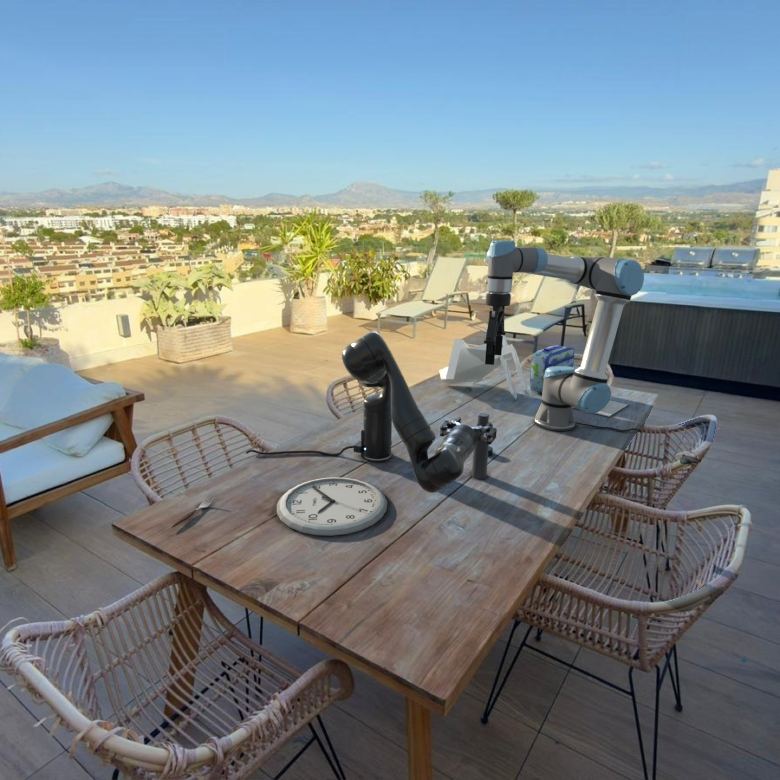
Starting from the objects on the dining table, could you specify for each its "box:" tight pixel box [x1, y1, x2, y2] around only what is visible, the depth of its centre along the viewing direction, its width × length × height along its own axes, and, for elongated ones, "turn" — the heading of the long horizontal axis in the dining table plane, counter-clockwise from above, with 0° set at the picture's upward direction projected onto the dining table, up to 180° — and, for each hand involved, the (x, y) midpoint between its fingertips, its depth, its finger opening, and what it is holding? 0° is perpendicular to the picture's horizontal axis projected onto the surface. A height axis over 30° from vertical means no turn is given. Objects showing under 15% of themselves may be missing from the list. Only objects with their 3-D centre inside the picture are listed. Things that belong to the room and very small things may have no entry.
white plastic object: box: [438, 334, 531, 400], centre depth 245 cm, size 37×45×31 cm
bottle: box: [471, 412, 490, 480], centre depth 158 cm, size 4×4×20 cm
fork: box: [171, 493, 217, 529], centre depth 137 cm, size 3×16×2 cm, turn 160°
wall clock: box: [276, 476, 388, 537], centre depth 142 cm, size 30×2×30 cm
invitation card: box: [573, 399, 629, 418], centre depth 226 cm, size 21×1×15 cm
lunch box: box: [529, 345, 575, 394], centre depth 245 cm, size 26×11×21 cm, turn 134°
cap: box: [488, 445, 494, 457], centre depth 177 cm, size 4×4×2 cm
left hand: (474, 423), depth 144 cm, fingers open, 8 cm apart
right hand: (493, 359), depth 167 cm, fingers open, 13 cm apart
